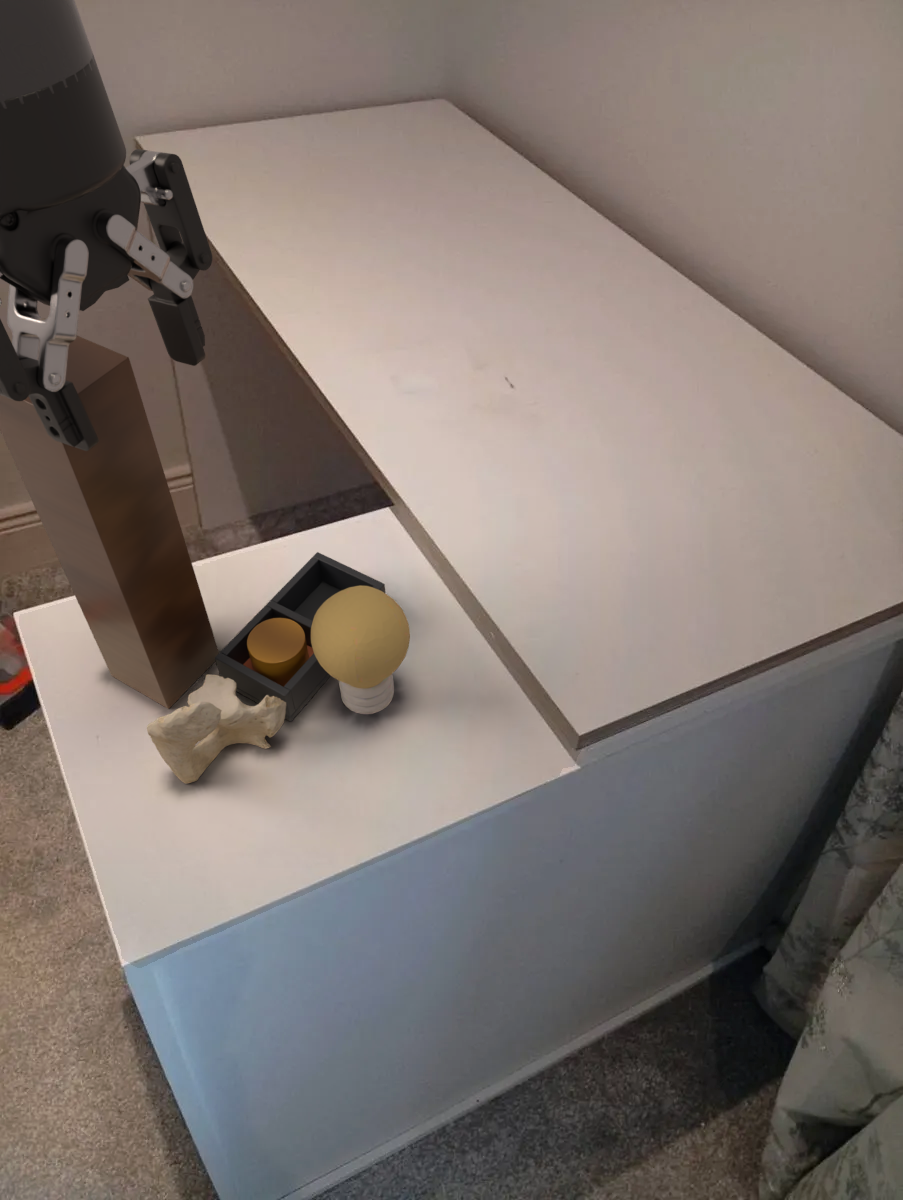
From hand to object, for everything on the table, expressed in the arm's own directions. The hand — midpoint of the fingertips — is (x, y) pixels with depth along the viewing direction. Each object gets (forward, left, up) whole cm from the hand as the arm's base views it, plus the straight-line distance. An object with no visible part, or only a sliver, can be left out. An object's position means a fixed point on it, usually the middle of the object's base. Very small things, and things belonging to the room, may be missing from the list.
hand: (137, 400), depth 52 cm
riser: (-2, +4, -24) cm, 25 cm away
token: (+2, -4, -24) cm, 24 cm away
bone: (-4, -4, -25) cm, 25 cm away
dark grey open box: (+5, -4, -24) cm, 25 cm away
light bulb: (+4, -10, -25) cm, 27 cm away
